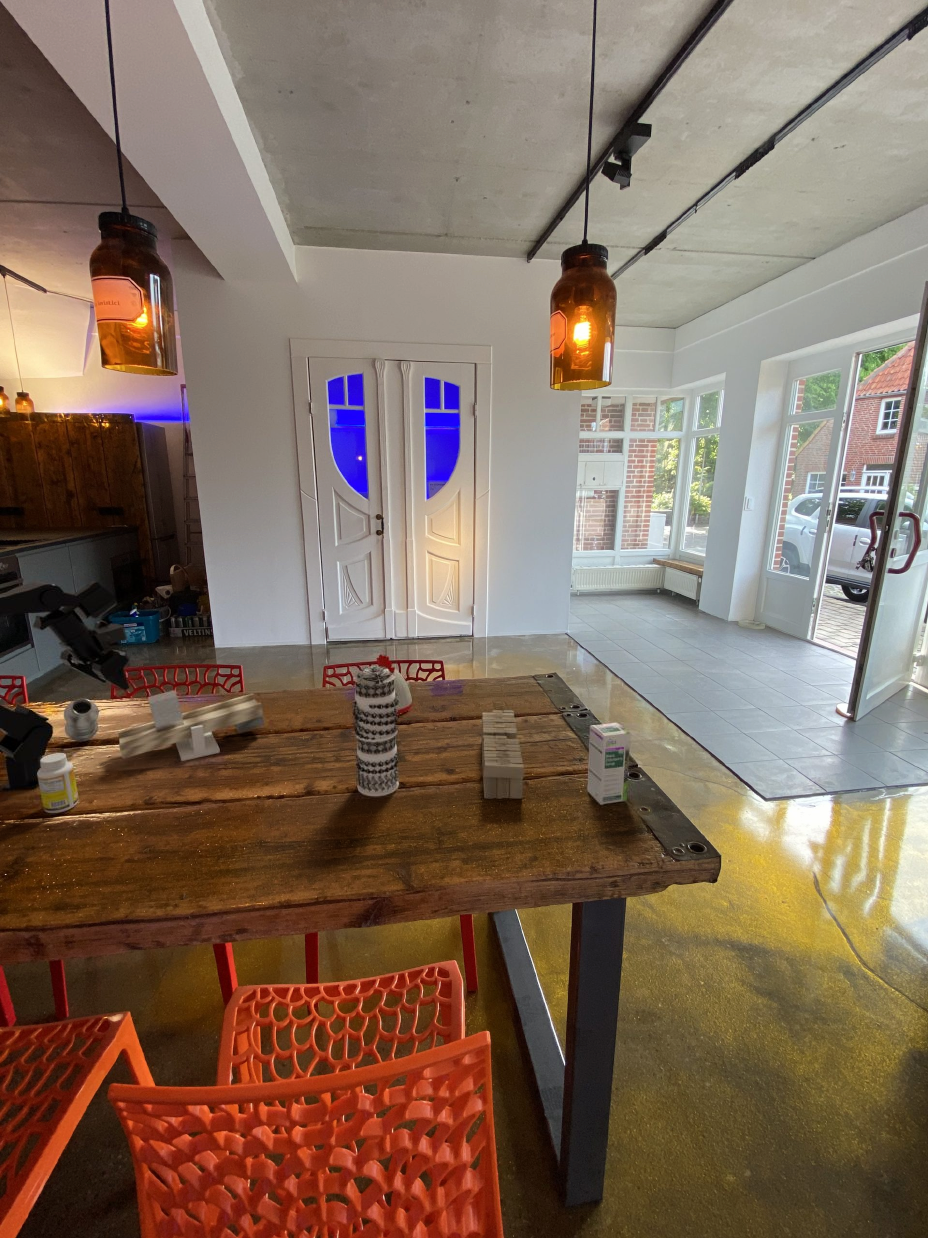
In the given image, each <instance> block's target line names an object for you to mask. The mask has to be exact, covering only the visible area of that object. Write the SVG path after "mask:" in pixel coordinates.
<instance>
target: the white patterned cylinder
mask: <svg viewBox="0 0 928 1238" xmlns="http://www.w3.org/2000/svg"><path fill="white" fill-rule="evenodd" d="M394 678H395V675H394V674H392V673H390V671H389V669H387V668H385V667H381V666H378V665H372V666H365V667H364V668H362V669H360V670H359V672H358V673H357V674H355V675H354V676H353V681H354V682H355V683H354V684H355V691H354V699H355V700H353V701H352V705H351V707H352V709H353V710H352V715H353V720H354V721H353V725H354V728H353V731H354V735H355V737H356V739H357V747H356V752H357V754H356V756H355V759H356V763H355V765H356V772H355V774H356V782H357V783H356V784H357V790H358V792H359V793H361V794H362V795H364V796H368V797H382V796H387V795H390V794H392V793H394V792H395V791H396V790H398V788H399V786H400V783H399V777H400V775H398V774H399V771H400V769H399V768H398V764H399V762H400V761H399V760H398V757H399V753H398V751H397V750H398V749H397V743H396V735H397V734H398V733H399V732H398V729H399V727H398V726H397V725H396V723H397V722H398V721H399V717H398V716H396V715H397V714H398V709H396V708H394V706H396V705H398V703H399V701H398V700H397V699H396V698H397V697H396V696H398V694H397V693H395V690H394Z"/></svg>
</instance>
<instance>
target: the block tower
mask: <svg viewBox="0 0 928 1238" xmlns="http://www.w3.org/2000/svg"><path fill="white" fill-rule="evenodd" d="M481 715H482V717H481V721H482V722H481V725H482V726H481V757H482V758H481V760H482V761H481V764H482V765H481V767H482V769H483V770H482V769H481V770H482V784H483V795H484V796H483V797H484V799H493V798H496V799H502V798H509V799H522V798H523V779H524V771H525V767H524V765H525V764H523V763H524V762H523V758H522V751H521V746H520V740H519V738H517V736H518V734H517V733H518V730H517V724H516V719H515V710H510V709H508V710H507V709H504V710H499V709H498V710H495V709H493V710H492V712H482V714H481Z"/></svg>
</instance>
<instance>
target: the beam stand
mask: <svg viewBox="0 0 928 1238" xmlns="http://www.w3.org/2000/svg"><path fill="white" fill-rule="evenodd" d="M191 734H192V738H189V739H186V740H183V741H179V742H176V743H175V746H176V748H177V752H178V755H179V758H180V760H181V762H183V761H184V762H185V761H188V760H193V759H197V758H202V757H206V756H210V755H211V756H212V755H214V754H219V753H220V752H221V751H220V747H219V745H218V743H217V741H216V739H215V737H214V735H213V733H212V732H209V733H206V734H204V732H203V726H202V725H199V726H194V727H191Z"/></svg>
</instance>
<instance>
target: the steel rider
mask: <svg viewBox="0 0 928 1238" xmlns="http://www.w3.org/2000/svg"><path fill="white" fill-rule="evenodd" d="M147 700H148V703H149V708H150V711H151V715H152V718H153V722H154V723H155V726H156V730H157V733H158V732H161V731H164V730H168V729H171V728H175V727H178V726H181V725H184V722H183V718H182V711H181V706H180V703H179V698H178V694H177V692H176V690H170V691H166V692H163V693H159V694H155V695H151V696H148V697H147Z"/></svg>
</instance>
